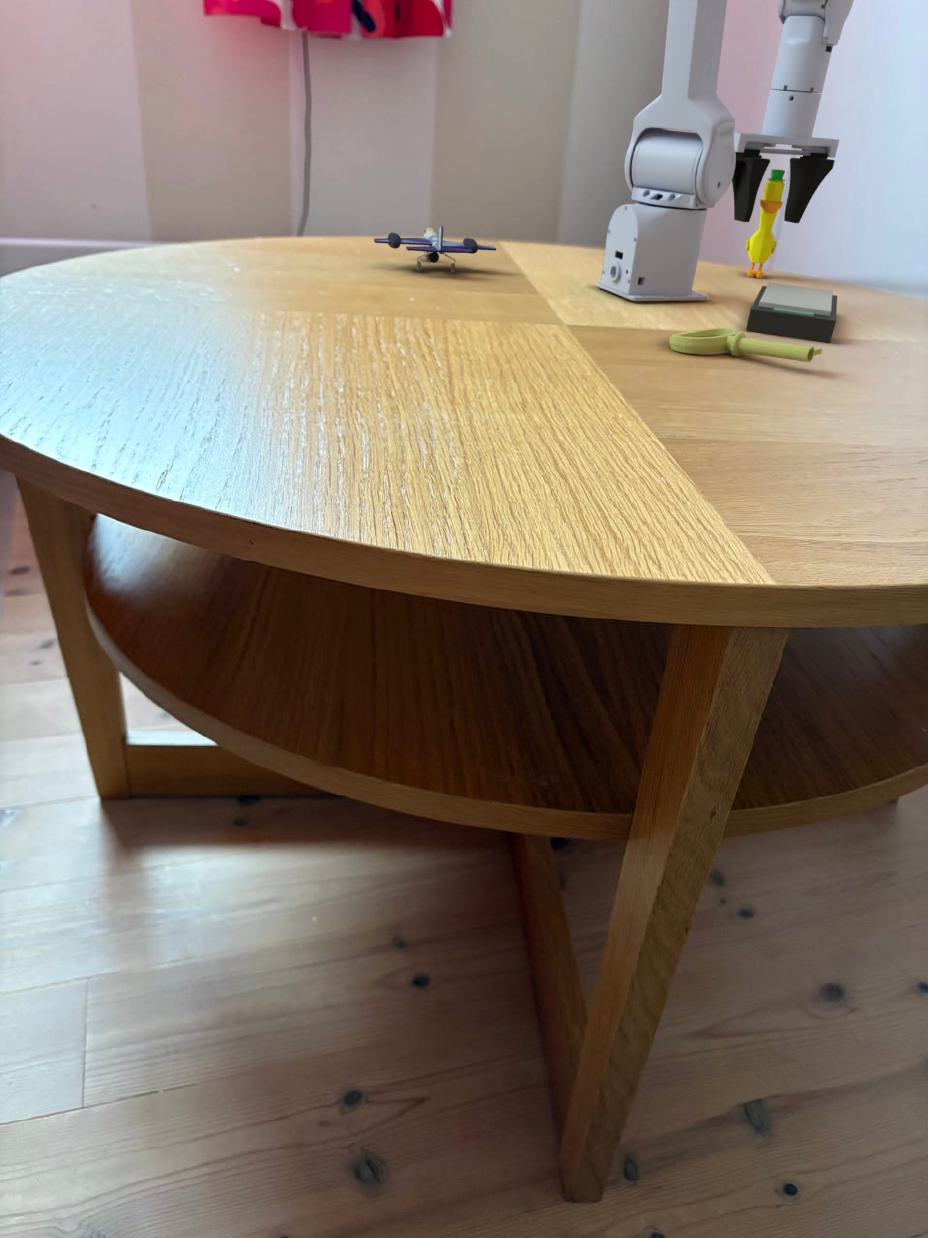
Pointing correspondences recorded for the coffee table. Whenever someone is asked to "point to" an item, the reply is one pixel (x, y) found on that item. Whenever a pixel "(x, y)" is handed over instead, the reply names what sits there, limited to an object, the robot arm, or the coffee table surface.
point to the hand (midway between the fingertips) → (766, 221)
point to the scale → (794, 312)
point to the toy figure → (766, 223)
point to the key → (737, 344)
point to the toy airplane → (434, 246)
